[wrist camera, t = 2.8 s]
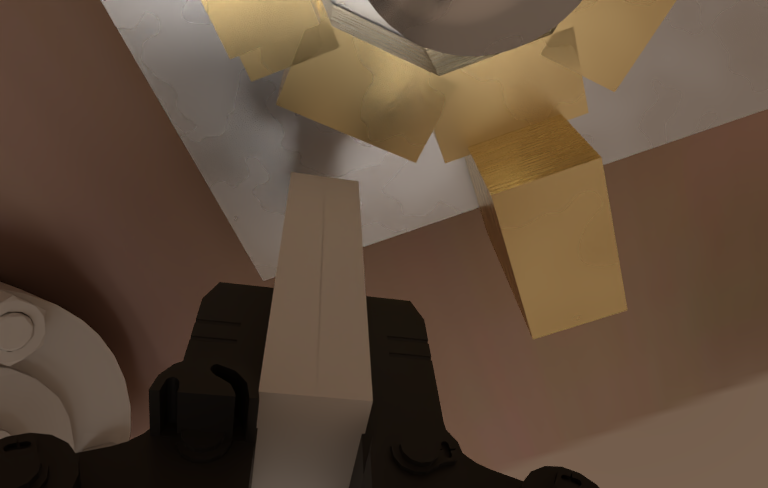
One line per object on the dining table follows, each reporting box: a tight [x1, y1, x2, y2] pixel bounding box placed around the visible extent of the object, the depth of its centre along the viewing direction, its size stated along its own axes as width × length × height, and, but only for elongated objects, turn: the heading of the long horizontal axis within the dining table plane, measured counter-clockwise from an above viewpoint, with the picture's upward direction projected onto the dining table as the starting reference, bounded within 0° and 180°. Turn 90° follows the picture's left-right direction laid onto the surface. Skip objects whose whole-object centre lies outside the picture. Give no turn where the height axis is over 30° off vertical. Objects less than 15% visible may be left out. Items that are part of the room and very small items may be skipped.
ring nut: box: [201, 0, 676, 339], centre depth 12 cm, size 14×10×5 cm
